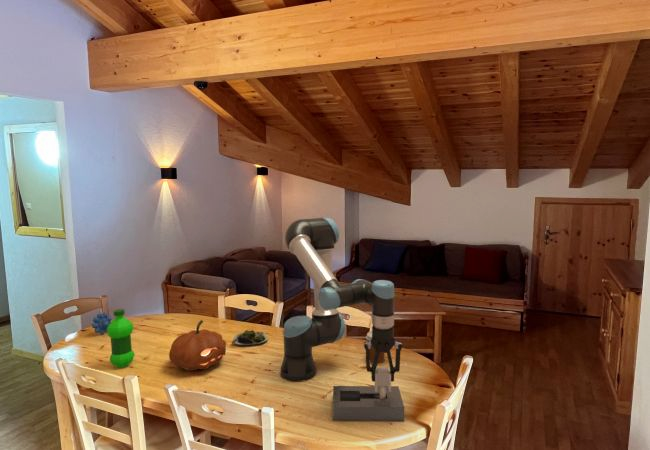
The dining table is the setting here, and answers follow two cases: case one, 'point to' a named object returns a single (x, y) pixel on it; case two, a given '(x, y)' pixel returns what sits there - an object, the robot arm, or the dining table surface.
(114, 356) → the plastic bottle
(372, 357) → the disposable coffee cup
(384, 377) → the headed peg
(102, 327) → the grapes
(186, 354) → the pumpkin
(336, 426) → the dining table surface
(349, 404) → the keyhole plate
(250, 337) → the salad plate
